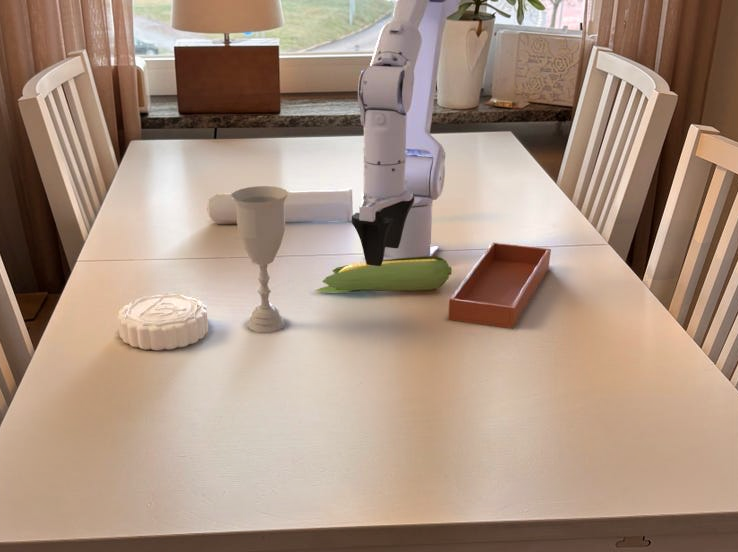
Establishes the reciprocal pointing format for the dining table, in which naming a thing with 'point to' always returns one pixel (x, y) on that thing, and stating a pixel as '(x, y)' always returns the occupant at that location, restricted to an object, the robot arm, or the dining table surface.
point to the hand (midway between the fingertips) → (382, 255)
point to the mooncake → (163, 322)
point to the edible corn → (390, 275)
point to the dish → (500, 285)
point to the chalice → (262, 243)
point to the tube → (292, 206)
